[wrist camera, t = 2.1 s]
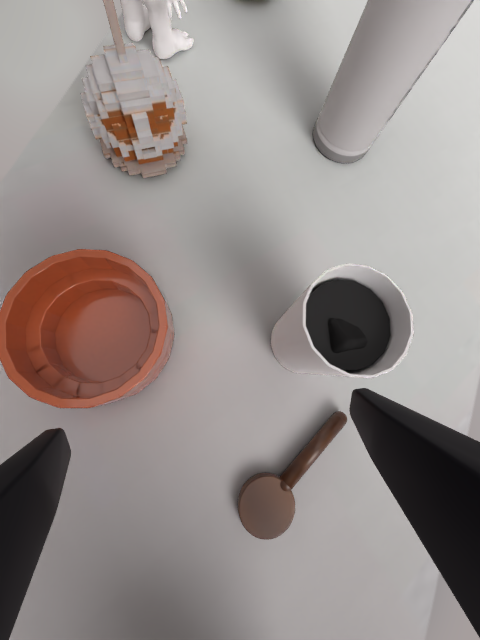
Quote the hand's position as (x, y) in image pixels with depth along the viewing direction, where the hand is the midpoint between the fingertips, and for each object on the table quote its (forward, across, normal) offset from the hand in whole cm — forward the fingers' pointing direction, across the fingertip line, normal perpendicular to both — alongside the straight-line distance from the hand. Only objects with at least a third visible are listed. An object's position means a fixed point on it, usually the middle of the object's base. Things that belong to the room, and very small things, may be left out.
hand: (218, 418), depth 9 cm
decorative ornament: (+27, +4, -11) cm, 29 cm away
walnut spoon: (+9, -6, +14) cm, 18 cm away
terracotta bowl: (+16, +8, +4) cm, 18 cm away
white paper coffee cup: (+15, -9, +6) cm, 18 cm away
